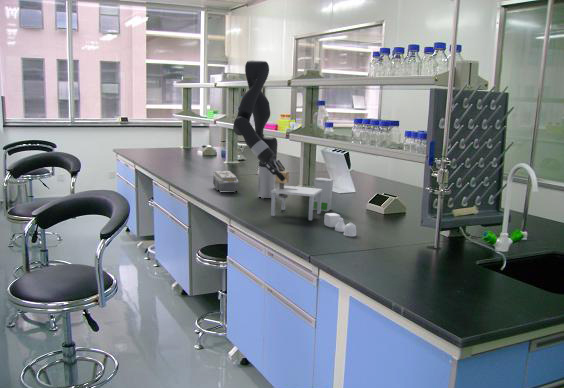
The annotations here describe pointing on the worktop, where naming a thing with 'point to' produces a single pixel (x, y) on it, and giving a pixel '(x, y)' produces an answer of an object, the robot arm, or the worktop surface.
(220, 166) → the worktop surface
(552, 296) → the worktop surface
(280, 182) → the tan block with stem
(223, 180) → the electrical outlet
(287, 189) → the white slotted table
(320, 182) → the skincare box
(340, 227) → the container set
